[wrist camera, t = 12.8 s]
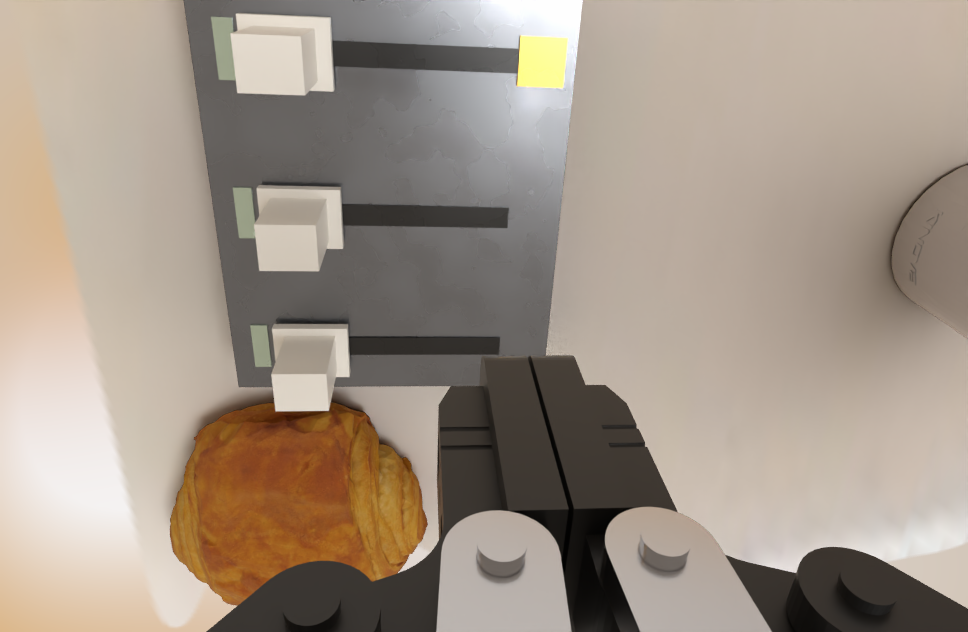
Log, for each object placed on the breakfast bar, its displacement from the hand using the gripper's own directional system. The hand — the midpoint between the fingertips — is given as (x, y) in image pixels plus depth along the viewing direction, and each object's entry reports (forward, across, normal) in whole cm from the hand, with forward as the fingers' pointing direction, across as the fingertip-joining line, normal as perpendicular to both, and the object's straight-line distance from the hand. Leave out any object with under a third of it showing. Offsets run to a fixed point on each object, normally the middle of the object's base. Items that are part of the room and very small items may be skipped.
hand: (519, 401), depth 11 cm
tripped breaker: (+21, +7, -3) cm, 22 cm away
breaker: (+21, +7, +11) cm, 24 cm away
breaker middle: (+21, +7, +4) cm, 22 cm away
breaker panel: (+25, +3, +4) cm, 25 cm away
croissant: (+25, +9, +23) cm, 36 cm away
